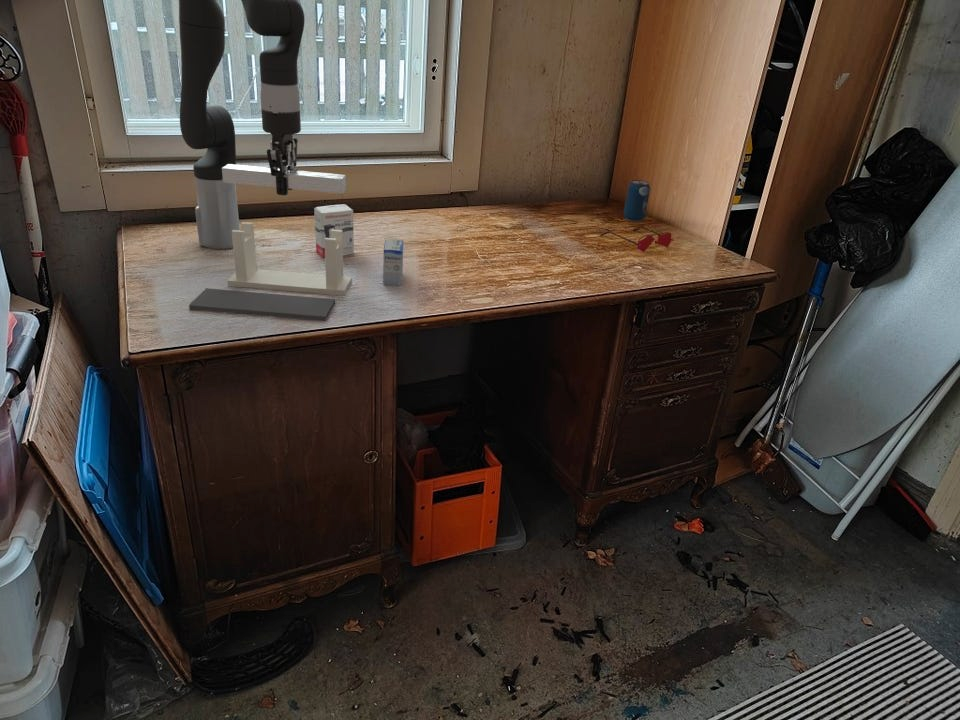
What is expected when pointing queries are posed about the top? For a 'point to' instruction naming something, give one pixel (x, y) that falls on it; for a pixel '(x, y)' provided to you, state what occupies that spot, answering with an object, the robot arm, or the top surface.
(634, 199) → the soda can
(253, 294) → the rubber mat
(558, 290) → the top surface
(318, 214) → the ink box
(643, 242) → the glasses
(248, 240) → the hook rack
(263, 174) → the rail
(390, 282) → the medicine box
